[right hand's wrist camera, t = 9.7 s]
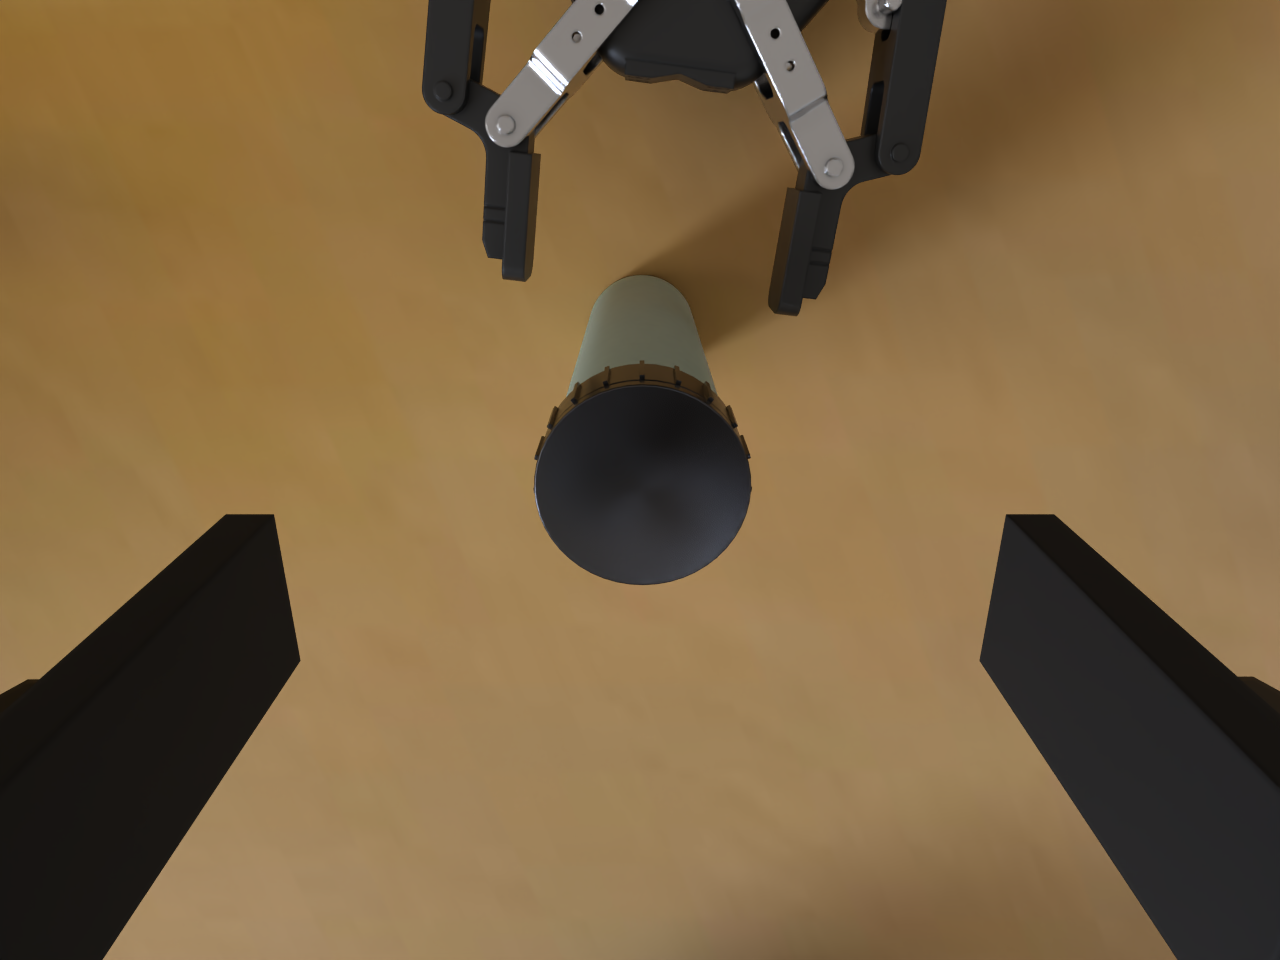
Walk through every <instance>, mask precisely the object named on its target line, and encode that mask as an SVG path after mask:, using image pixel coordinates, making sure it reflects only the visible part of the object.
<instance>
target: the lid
mask: <svg viewBox="0 0 1280 960" xmlns="http://www.w3.org/2000/svg"><path fill="white" fill-rule="evenodd" d="M737 426H738V425H737V422H736V419H735V416H734V413H733V411H732V408H731V407H730V405H729V406H727V407H726V406H725V404H724V403H723V401H722V400H721V399H720V398H719V397H718V396H717V395H716V393H715V392H713V391H712V390H711V387H710V384H709V383H708V382H707V381H705V382H704V383H702V382H701V381H699V380H698V379H696V378H695V377H693V376H691V375H689V374H687V373H685V372H683V371H680V369H679V366H676V365H675V366H674V368H671V367H667V366H662V365H657V364H644V360H640V361H639V364H628V365H623V366H618V367H614V368H611V369H610V366H606V367H605V369H604V371H602V372H600V373H598V374H596V375H594V376H592V377H590V378H589V379H587V380H586V381H584V382H583V383H581V384H580V383H579V382H577V383H576V384H575V385H574V389H573V391H572V392H571V393H569V395H568V396H567V397H566V398H565V399H564V400H563V402H562V403H561V404H560V406H559V407H558V408H557V407H556V406H555V407H554V408H553V410H552V413H551V416H550V419H549V422H548V425H547V428H548V429H547V432H546V435H545V437H544V436H542V437H541V440H540V443H539V446H538V449H537V452H536V454H535V460H537V464H536V470H535V476H534V493H535V500H536V505H537V509H538V512H539V516H540V518H541V520H542V523H543V525H544V527H545V529H546V531H547V532H548V534H549V536H550V537H551V539H552V540H553V542H554V543H555V544H556V545H557V547H558V548H559V549H560V550H561V551H562V552H563V553H564V554H565V555H566V556H567V557H568V558H569V559H571V560H572V561H573V562H575V563H576V564H577V565H579V566H580V567H582V568H583V569H585V570H587V571H589V572H590V573H592V574H595V575H597V576H599V577H602V578H604V579H608V580H611V581H615V582H619V583H625V584H633V585H651V584H660V583H666V582H671V581H674V580H677V579H681V578H684V577H686V576H688V575H690V574H693V573H695V572H697V571H698V570H700V569H702V568H703V567H705V566H707V565H708V564H709V563H711V562H712V561H713V560H715V559H716V558H717V557H718V556H719V555H720V554H721V553H722V552H723V551H724V550H725V549H726V548H727V547H728V546H729V544H730V543H731V542H732V540H733V539H734V538H735V536H736V535H737V533H738V531H739V529H740V528H741V526H742V523H743V521H744V519H745V516H746V513H747V510H748V506H749V502H750V494H751V490H752V487H751V474H750V468H749V462H748V459H749V458H751V457H750V453H749V451H748V448H747V445H746V442H745V439H744V437H743V435H741V436H740V435H739V432H738V429H737Z"/></svg>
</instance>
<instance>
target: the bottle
mask: <svg viewBox="0 0 1280 960" xmlns="http://www.w3.org/2000/svg"><path fill="white" fill-rule="evenodd" d="M640 360H644V364H657V365H662V366H667V367H671V368H674V366H675V365H676V366H679V369H680V371H683V372H685V373H687V374H689V375H691V376H693V377H695V378H696V379H698V380H699V381H701V382H702V383H704V382H705V381H707V382H708V383H709V384H710V387H711V390H712V391H713V392H715V393H716V395H717V392H716V389H715V386H714V382H713V379H712V376H711V373H710V370H709V367H708V363H707V360H706V357H705V354H704V351H703V347H702V344H701V341H700V338H699V335H698V332H697V328H696V325H695V322H694V319H693V316H692V313H691V309H690V307H689V305H688V303H687V301H686V299H685V298H684V296H683V295H682V294H681V293H680V292H679V290H677V289H676V288H675V287H674V286H673V285H671V284H670V283H668V282H666V281H664V280H662V279H660V278H657V277H653V276H648V275H635V276H630V277H626V278H623V279H620V280H618V281H616V282H614V283H613V284H612V285H610V286H609V287H608V288H606V289H605V290H604V291H603V292H602V294H601V295H600V296H599V297H598V299H597V301H596V302H595V304H594V306H593V309H592V312H591V315H590V318H589V322H588V325H587V328H586V332H585V335H584V339H583V342H582V345H581V349H580V352H579V355H578V359H577V362H576V366H575V369H574V372H573V376H572V379H571V382H570V386H569V389H568V393H567V396H568V395H569V393H571V392H572V391H573V389H574V385H575V384H576V383H577V382H579V383H580V384H581V383H583V382H584V381H586V380H587V379H589V378H590V377H592V376H594V375H596V374H598V373H600V372H602V371H604V369H605V367H606V366H610V369H611V368H614V367H618V366H623V365H628V364H639V361H640ZM567 396H566V397H567ZM717 396H718V395H717Z"/></svg>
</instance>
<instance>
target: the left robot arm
mask: <svg viewBox="0 0 1280 960" xmlns="http://www.w3.org/2000/svg"><path fill="white" fill-rule="evenodd" d="M490 1H491V0H429V5H428V18H427V31H426V44H425V57H424V69H423V82H422V93H423V97H424V100H425V102H426V103H427V105H428V106H429V107H430V108H431V109H432V110H433V111H435V112H437V113H439V114H443V115H445V116H447V117H449V118H450V119H452V120H454V121H456V122H458V123H460V124H462V125H464V126H466V127H467V128H469V129H471V130H472V131H474V132H475V133H476V134H477V135H478V136H479V137H480V139H481V140H482V142H483V144H484V147H485V150H486V174H485V195H484V216H483V218H484V221H483V236H482V241H483V244H484V247H485V250H486V253H487V256H488V258H496V259H502V277H503V279H507V280H515V281H523V282H526V281H527V279H528V278H529V277H530V276H531V273H532V267H533V257H534V243H535V229H536V215H537V201H538V187H539V173H540V159H541V154H536V153H534V139H535V138H536V137H537V135H538V134H539V133H540V132H541V131H542V130H543V128H544V127H545V126H546V125H547V124H548V122H549V121H550V120H551V119H552V118H553V117H554V115H555V114H556V113H557V112H558V111H559V110H560V108H561V107H562V106H563V105H564V104H565V103H566V101H567V100H568V99H569V98H570V97H572V96H573V95H574V94H575V93H576V92H577V91H578V90H579V89H580V87H581V86H582V85H583V84H584V83H585V82H586V80H587V79H588V78H589V77H590V76H591V75H592V73H593V72H594V71H595V70H596V69H597V68H598V66H599V65H600V64H601V63H602V62H603V61H604V62H605V63H606V64H607V66H608V67H610V68H611V69H612V70H613V71H614V72H616V73H618V74H619V75H621V76H623V77H625V80H629V81H636V82H643V83H657V82H663V81H669V80H680V81H682V82H685V83H687V84H689V85H691V86H693V87H696V88H698V89H700V90H703V91H710V92H718V93H725V94H727V93H729V92H730V91H734V90H737V89H741V88H743V87H745V86H747V85H749V84H751V83H753V85H754V87H755V89H756V91H757V94H758V96H759V98H760V100H761V102H762V104H763V106H764V108H765V110H766V112H767V114H768V116H769V118H770V119H771V121H772V122H773V124H774V125H775V126H776V128H777V130H778V132H779V134H780V136H781V138H782V140H783V142H784V144H785V146H786V148H787V150H788V152H789V154H790V157H791V159H792V161H793V163H794V165H795V167H796V169H797V171H798V176H797V182H796V187H795V188H788V187H787V193H786V199H785V204H784V210H783V216H782V221H781V227H780V233H779V238H778V244H777V250H776V255H775V261H774V266H773V272H772V278H771V283H770V289H769V297H768V305H769V307H770V308H771V310H772V311H773V312H774V313H775V314H782V315H790V316H797V315H798V314H799V311H800V308H801V304H802V299H803V298H809V299H816V298H817V297H818V295H819V293H820V292H821V290H822V289H823V287H824V285H825V283H826V278H827V273H828V268H829V263H830V258H831V254H832V253H831V252H832V249H833V244H834V239H835V234H836V229H837V224H838V219H839V214H840V209H841V204H842V201H843V199H844V197H845V195H846V193H847V192H848V191H849V190H850V189H851V188H852V187H853V186H855V185H856V184H858V183H861V182H864V181H868V180H872V179H876V178H880V177H884V176H888V175H901V174H905V173H907V172H909V171H910V170H911V169H912V168H913V167H914V166H915V165H916V163H917V162H918V160H919V157H920V152H921V146H922V141H923V135H924V129H925V123H926V118H927V112H928V106H929V100H930V94H931V89H932V83H933V77H934V71H935V65H936V60H937V54H938V48H939V42H940V36H941V31H942V25H943V19H944V13H945V8H946V2H947V0H857V5H858V19H859V22H860V24H861V25H862V27H863V28H864V29H865V30H867V31H868V32H871V33H875V40H874V47H873V54H872V61H871V68H870V74H869V81H868V88H867V95H866V102H865V108H864V115H863V122H862V129H861V136H859V137H855V138H851V139H847V140H845V139H844V136H843V134H842V132H841V130H840V128H839V125H838V123H837V121H836V119H835V117H834V114H833V112H832V110H831V108H830V105H829V103H828V99H827V92H826V88H825V86H824V83H823V81H822V79H821V76H820V74H819V72H818V70H817V68H816V65H815V63H814V61H813V59H812V57H811V54H810V52H809V50H808V48H807V45H806V43H805V41H804V39H803V37H802V34H801V31H802V30H803V29H804V28H805V27H806V25H807V24H808V23H809V22H810V21H811V20H812V19H813V18H814V16H815V15H816V14H817V13H818V12H819V11H820V10H821V9H822V7H823V6H824V5H825V4H826V3H827V2H828V1H829V0H571V1H572V3H573V4H572V5H571V6H570V7H569V9H568V10H567V11H566V12H565V13H564V15H563V16H562V17H561V18H560V20H559V21H558V22H557V23H556V24H555V26H554V27H553V28H552V29H551V30H550V32H549V33H548V34H547V35H546V37H545V38H544V39H543V40H542V41H541V43H540V44H539V45H538V46H537V48H536V49H535V51H534V52H533V54H532V56H531V58H530V60H529V61H528V63H527V64H526V65H525V67H524V68H523V69H522V70H521V72H520V73H519V74H518V75H517V76H516V78H515V79H514V80H513V81H512V82H511V84H510V85H509V86H508V87H507V89H506V90H505V91H504V92H503V93H502V95H500V94H498V93H496V92H495V91H493V90H491V89H489V88H487V87H485V86H484V85H482V80H483V70H484V60H485V50H486V40H487V31H488V21H489V11H490Z"/></svg>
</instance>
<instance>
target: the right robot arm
mask: <svg viewBox="0 0 1280 960" xmlns="http://www.w3.org/2000/svg"><path fill="white" fill-rule="evenodd" d="M299 662H300V655H299V650H298V644H297V639H296V633H295V628H294V622H293V617H292V611H291V606H290V600H289V595H288V589H287V584H286V578H285V573H284V567H283V562H282V556H281V551H280V545H279V540H278V534H277V529H276V523H275V518H274V514H226V515H225V516H224V517H222V518H221V519H220V520H219V521H218V522H217V523H216V524H214V525H213V526H212V527H211V528H210V529H209V530H208V531H207V532H205V533H204V534H203V535H202V536H201V537H200V538H199V539H198V540H196V541H195V542H194V543H193V544H192V545H191V546H190V547H188V548H187V549H186V550H185V551H184V552H183V553H182V554H181V555H179V556H178V557H177V558H176V559H175V560H174V561H173V562H172V563H170V564H169V565H168V566H167V567H166V568H165V569H164V570H163V571H161V572H160V573H159V574H158V575H157V576H156V577H155V578H153V579H152V580H151V581H150V582H149V583H148V584H147V585H146V586H144V587H143V588H142V589H141V590H140V591H139V592H138V593H137V594H135V595H134V596H133V597H132V598H131V599H130V600H129V601H127V602H126V603H125V604H124V605H123V606H122V607H121V608H120V609H118V610H117V611H116V612H115V613H114V614H113V615H112V616H111V617H109V618H108V619H107V620H106V621H105V622H104V623H103V624H102V625H100V626H99V627H98V628H97V629H96V630H95V631H94V632H92V633H91V634H90V635H89V636H88V637H87V638H86V639H85V640H83V641H82V642H81V643H80V644H79V645H78V646H77V647H76V648H74V649H73V650H72V651H71V652H70V653H69V654H68V655H66V656H65V657H64V658H63V659H62V660H61V661H60V662H59V663H57V664H56V665H55V666H54V667H53V668H52V669H51V670H50V671H48V672H47V673H46V674H45V675H44V676H43V677H42V678H41V679H28V680H26V681H24V682H22V683H20V684H19V685H17V686H15V687H13V688H11V689H10V690H8V691H6V692H4V693H2V694H0V960H103V958H104V957H105V955H106V954H107V952H108V951H109V949H110V948H111V946H112V945H113V943H114V942H115V940H116V939H117V937H118V936H119V934H120V933H121V931H122V929H123V928H124V926H125V925H126V923H127V922H128V920H129V919H130V917H131V916H132V914H133V913H134V911H135V910H136V908H137V907H138V905H139V904H140V902H141V901H142V899H143V898H144V896H145V895H146V893H147V892H148V890H149V889H150V887H151V886H152V884H153V883H154V881H155V880H156V878H157V877H158V875H159V874H160V872H161V871H162V869H163V868H164V866H165V865H166V863H167V862H168V860H169V859H170V857H171V855H172V854H173V852H174V851H175V849H176V848H177V846H178V845H179V843H180V842H181V840H182V839H183V837H184V836H185V834H186V833H187V831H188V830H189V828H190V827H191V825H192V824H193V822H194V821H195V819H196V818H197V816H198V815H199V813H200V812H201V810H202V809H203V807H204V806H205V804H206V803H207V801H208V800H209V798H210V797H211V795H212V794H213V792H214V791H215V789H216V788H217V786H218V784H219V783H220V781H221V780H222V778H223V777H224V775H225V774H226V772H227V771H228V769H229V768H230V766H231V765H232V763H233V762H234V760H235V759H236V757H237V756H238V754H239V753H240V751H241V750H242V748H243V747H244V745H245V744H246V742H247V741H248V739H249V738H250V736H251V735H252V733H253V732H254V730H255V729H256V727H257V726H258V724H259V723H260V721H261V720H262V718H263V717H264V715H265V714H266V712H267V710H268V709H269V707H270V706H271V704H272V703H273V701H274V700H275V698H276V697H277V695H278V694H279V692H280V691H281V689H282V688H283V686H284V685H285V683H286V682H287V680H288V679H289V677H290V676H291V674H292V673H293V671H294V670H295V668H296V667H297V665H298V664H299ZM980 662H981V664H982V665H983V667H984V668H985V670H986V671H987V673H988V674H989V676H990V677H991V679H992V680H993V682H994V683H995V685H996V686H997V688H998V689H999V691H1000V692H1001V694H1002V695H1003V697H1004V698H1005V700H1006V701H1007V703H1008V704H1009V706H1010V707H1011V709H1012V710H1013V712H1014V713H1015V715H1016V717H1017V718H1018V720H1019V721H1020V723H1021V724H1022V726H1023V727H1024V729H1025V730H1026V732H1027V733H1028V735H1029V736H1030V738H1031V739H1032V741H1033V742H1034V744H1035V745H1036V747H1037V748H1038V750H1039V751H1040V753H1041V754H1042V756H1043V757H1044V759H1045V760H1046V762H1047V763H1048V765H1049V766H1050V768H1051V769H1052V771H1053V772H1054V774H1055V775H1056V777H1057V778H1058V780H1059V781H1060V783H1061V784H1062V786H1063V788H1064V789H1065V791H1066V792H1067V794H1068V795H1069V797H1070V798H1071V800H1072V801H1073V803H1074V804H1075V806H1076V807H1077V809H1078V810H1079V812H1080V813H1081V815H1082V816H1083V818H1084V819H1085V821H1086V822H1087V824H1088V825H1089V827H1090V828H1091V830H1092V831H1093V833H1094V834H1095V836H1096V837H1097V839H1098V840H1099V842H1100V843H1101V845H1102V846H1103V848H1104V849H1105V851H1106V852H1107V854H1108V855H1109V857H1110V858H1111V860H1112V862H1113V863H1114V865H1115V866H1116V868H1117V869H1118V871H1119V872H1120V874H1121V875H1122V877H1123V878H1124V880H1125V881H1126V883H1127V884H1128V886H1129V887H1130V889H1131V890H1132V892H1133V893H1134V895H1135V896H1136V898H1137V899H1138V901H1139V902H1140V904H1141V905H1142V907H1143V908H1144V910H1145V911H1146V913H1147V914H1148V916H1149V917H1150V919H1151V920H1152V922H1153V923H1154V925H1155V926H1156V928H1157V929H1158V931H1159V932H1160V934H1161V936H1162V937H1163V939H1164V940H1165V942H1166V943H1167V945H1168V946H1169V948H1170V949H1171V951H1172V952H1173V954H1174V955H1175V957H1176V958H1177V960H1280V691H1278V690H1277V689H1275V688H1273V687H1271V686H1269V685H1267V684H1266V683H1264V682H1262V681H1260V680H1258V679H1256V678H1255V677H1237V676H1236V675H1235V674H1234V673H1233V672H1232V671H1230V670H1229V669H1228V668H1227V667H1226V666H1225V665H1224V664H1223V663H1221V662H1220V661H1219V660H1218V659H1217V658H1216V657H1215V656H1214V655H1212V654H1211V653H1210V652H1209V651H1208V650H1207V649H1206V648H1204V647H1203V646H1202V645H1201V644H1200V643H1199V642H1198V641H1197V640H1195V639H1194V638H1193V637H1192V636H1191V635H1190V634H1189V633H1188V632H1186V631H1185V630H1184V629H1183V628H1182V627H1181V626H1180V625H1179V624H1177V623H1176V622H1175V621H1174V620H1173V619H1172V618H1171V617H1169V616H1168V615H1167V614H1166V613H1165V612H1164V611H1163V610H1162V609H1160V608H1159V607H1158V606H1157V605H1156V604H1155V603H1154V602H1153V601H1151V600H1150V599H1149V598H1148V597H1147V596H1146V595H1145V594H1143V593H1142V592H1141V591H1140V590H1139V589H1138V588H1137V587H1136V586H1134V585H1133V584H1132V583H1131V582H1130V581H1129V580H1128V579H1127V578H1125V577H1124V576H1123V575H1122V574H1121V573H1120V572H1119V571H1117V570H1116V569H1115V568H1114V567H1113V566H1112V565H1111V564H1110V563H1108V562H1107V561H1106V560H1105V559H1104V558H1103V557H1102V556H1101V555H1099V554H1098V553H1097V552H1096V551H1095V550H1094V549H1093V548H1092V547H1090V546H1089V545H1088V544H1087V543H1086V542H1085V541H1084V540H1082V539H1081V538H1080V537H1079V536H1078V535H1077V534H1076V533H1075V532H1073V531H1072V530H1071V529H1070V528H1069V527H1068V526H1067V525H1066V524H1064V523H1063V522H1062V521H1061V520H1060V519H1059V518H1058V517H1056V516H1055V515H1054V514H1006V518H1005V523H1004V529H1003V534H1002V540H1001V545H1000V551H999V556H998V562H997V567H996V573H995V578H994V584H993V589H992V595H991V600H990V606H989V611H988V617H987V622H986V628H985V633H984V639H983V645H982V650H981V656H980Z"/></svg>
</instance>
